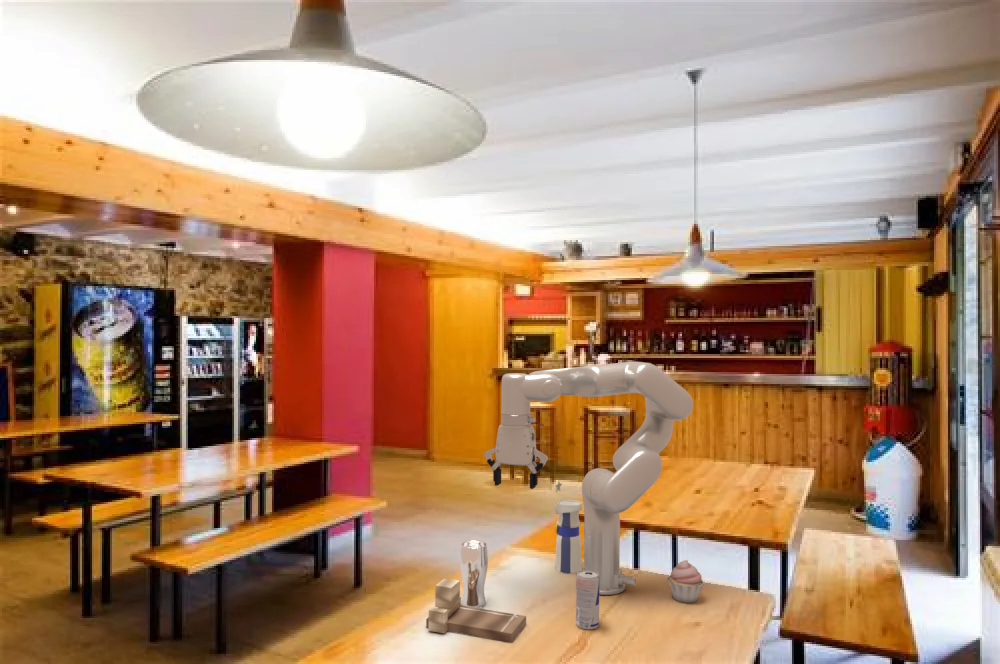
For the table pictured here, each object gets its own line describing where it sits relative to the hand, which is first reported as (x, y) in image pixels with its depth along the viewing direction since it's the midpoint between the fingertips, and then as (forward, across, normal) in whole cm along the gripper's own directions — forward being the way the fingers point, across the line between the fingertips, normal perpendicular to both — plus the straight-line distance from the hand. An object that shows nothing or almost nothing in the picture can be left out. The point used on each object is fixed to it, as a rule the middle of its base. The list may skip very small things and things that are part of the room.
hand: (515, 486), depth 176 cm
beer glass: (+28, +8, +9) cm, 31 cm away
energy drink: (+28, -22, +11) cm, 38 cm away
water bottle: (+28, -8, -24) cm, 38 cm away
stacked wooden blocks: (+28, +9, +22) cm, 37 cm away
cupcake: (+28, -42, -14) cm, 53 cm away
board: (+28, +2, +21) cm, 35 cm away
